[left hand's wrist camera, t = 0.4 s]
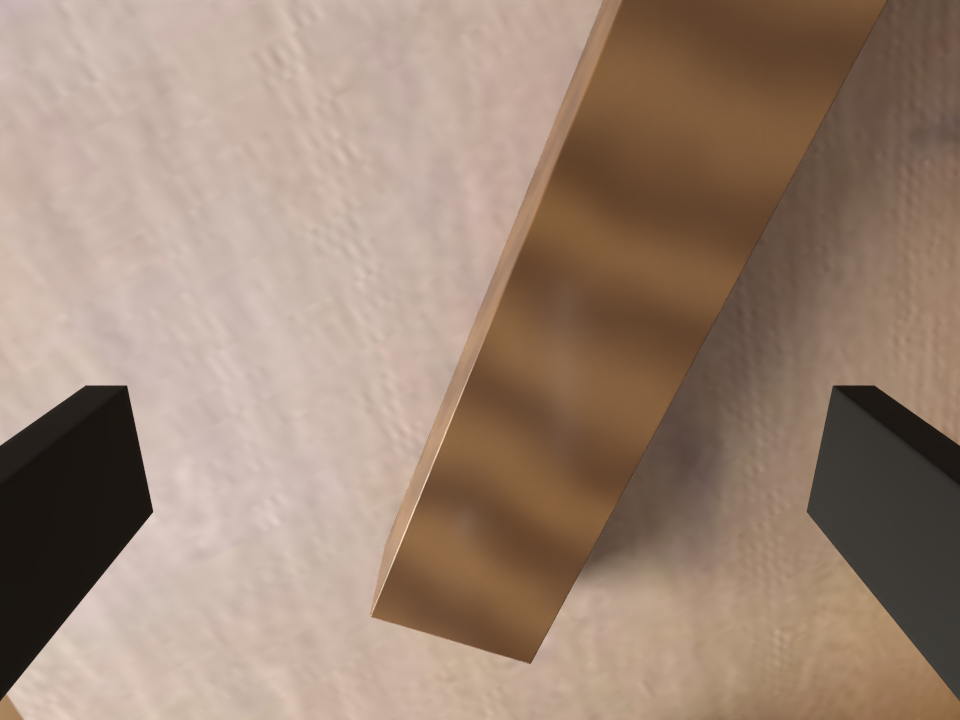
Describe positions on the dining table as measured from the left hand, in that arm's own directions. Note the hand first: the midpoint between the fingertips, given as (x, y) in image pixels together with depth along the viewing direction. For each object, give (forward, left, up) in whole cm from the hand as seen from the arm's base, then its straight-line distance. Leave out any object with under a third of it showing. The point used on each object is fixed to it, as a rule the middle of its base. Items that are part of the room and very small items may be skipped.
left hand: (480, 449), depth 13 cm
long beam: (+9, -11, -26) cm, 30 cm away
